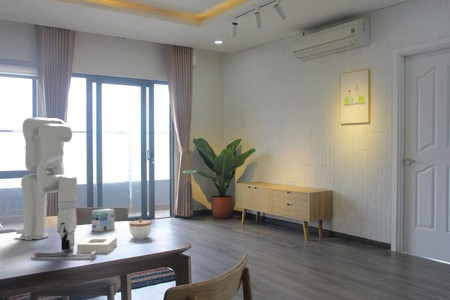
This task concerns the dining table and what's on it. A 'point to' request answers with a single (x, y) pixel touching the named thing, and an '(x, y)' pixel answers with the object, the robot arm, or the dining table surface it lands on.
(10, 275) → the dining table surface
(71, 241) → the grey canister
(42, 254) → the lock pin
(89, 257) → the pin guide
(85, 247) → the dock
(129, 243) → the dining table surface
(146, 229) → the lidded jar
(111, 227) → the light bulb box
